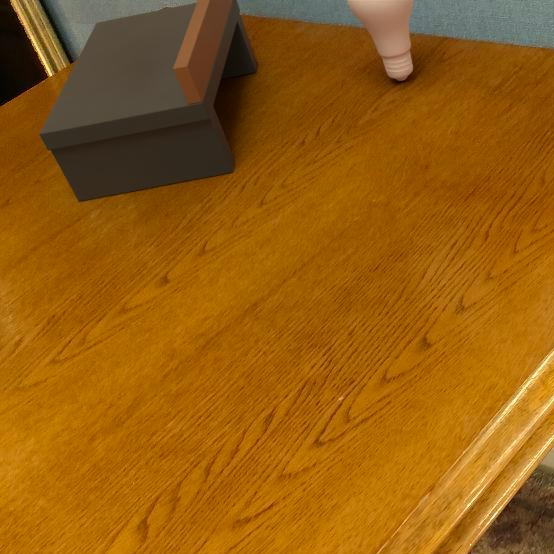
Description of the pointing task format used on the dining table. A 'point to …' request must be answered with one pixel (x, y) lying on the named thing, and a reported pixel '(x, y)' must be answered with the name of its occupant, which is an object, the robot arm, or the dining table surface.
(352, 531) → the dining table surface
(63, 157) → the grey lidded gift box
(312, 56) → the dining table surface
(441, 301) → the dining table surface
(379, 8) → the lightbulb
